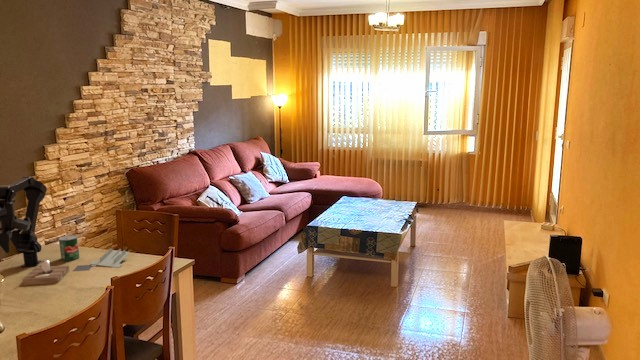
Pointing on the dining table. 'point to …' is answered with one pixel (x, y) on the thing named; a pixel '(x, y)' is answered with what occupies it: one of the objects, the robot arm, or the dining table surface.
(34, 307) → the dining table surface
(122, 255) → the metal bracket
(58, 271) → the walnut hole plate
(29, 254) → the robot arm
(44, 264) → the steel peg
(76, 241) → the canned tomato
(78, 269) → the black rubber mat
